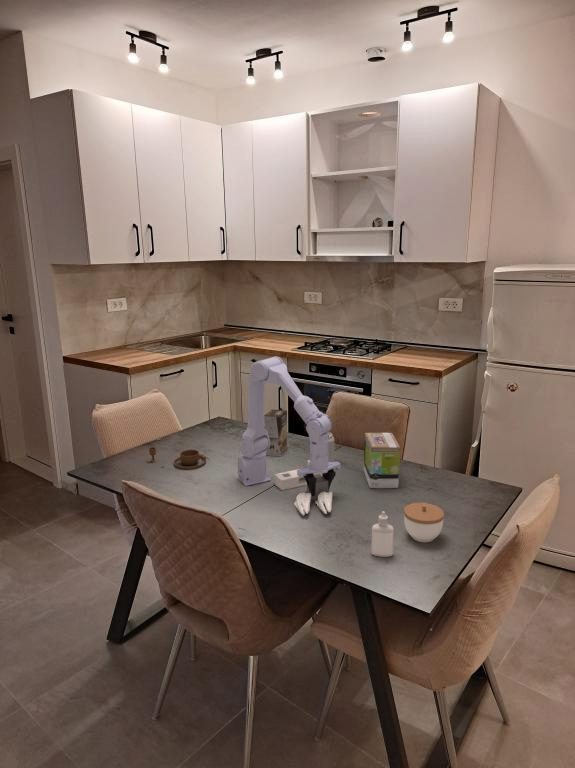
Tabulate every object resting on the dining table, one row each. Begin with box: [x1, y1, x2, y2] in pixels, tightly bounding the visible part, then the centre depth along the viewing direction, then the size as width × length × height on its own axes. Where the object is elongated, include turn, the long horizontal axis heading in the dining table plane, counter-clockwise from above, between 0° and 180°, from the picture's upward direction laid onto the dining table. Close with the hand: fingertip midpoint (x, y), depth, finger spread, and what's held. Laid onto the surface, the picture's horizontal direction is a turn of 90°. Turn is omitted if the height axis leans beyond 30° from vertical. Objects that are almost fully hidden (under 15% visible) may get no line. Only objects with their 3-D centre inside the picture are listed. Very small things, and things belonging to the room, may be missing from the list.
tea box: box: [363, 432, 401, 489], centre depth 189 cm, size 15×10×15 cm
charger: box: [305, 474, 329, 503], centre depth 178 cm, size 4×9×6 cm, turn 26°
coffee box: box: [264, 408, 288, 457], centre depth 215 cm, size 9×6×16 cm
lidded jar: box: [403, 502, 445, 543], centre depth 152 cm, size 11×11×9 cm
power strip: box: [274, 468, 323, 491], centre depth 189 cm, size 18×6×4 cm, turn 116°
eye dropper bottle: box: [370, 511, 395, 558], centre depth 144 cm, size 4×6×12 cm
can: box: [326, 431, 335, 462], centre depth 202 cm, size 8×8×12 cm
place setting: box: [148, 446, 210, 471], centre depth 208 cm, size 18×20×6 cm
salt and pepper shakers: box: [293, 491, 333, 516], centre depth 169 cm, size 12×4×11 cm
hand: (319, 493), depth 176 cm, fingers closed on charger, 4 cm apart
